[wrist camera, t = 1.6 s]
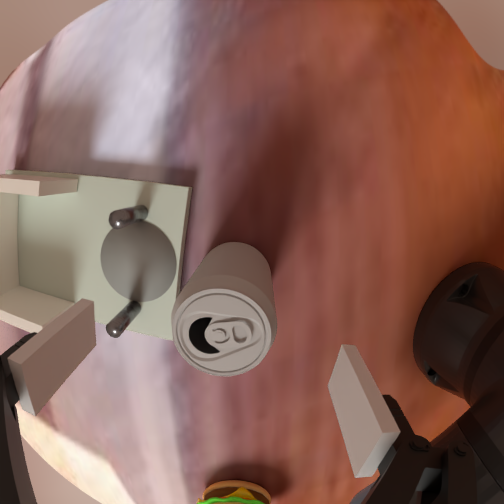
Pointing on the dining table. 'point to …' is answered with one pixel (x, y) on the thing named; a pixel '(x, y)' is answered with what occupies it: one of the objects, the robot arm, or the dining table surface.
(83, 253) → the board
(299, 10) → the dining table surface
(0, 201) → the housing
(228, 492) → the hamburger
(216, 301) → the beverage can
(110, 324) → the pins
